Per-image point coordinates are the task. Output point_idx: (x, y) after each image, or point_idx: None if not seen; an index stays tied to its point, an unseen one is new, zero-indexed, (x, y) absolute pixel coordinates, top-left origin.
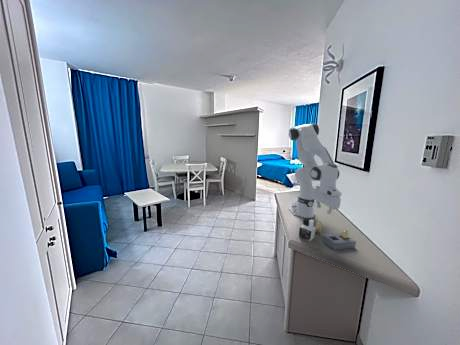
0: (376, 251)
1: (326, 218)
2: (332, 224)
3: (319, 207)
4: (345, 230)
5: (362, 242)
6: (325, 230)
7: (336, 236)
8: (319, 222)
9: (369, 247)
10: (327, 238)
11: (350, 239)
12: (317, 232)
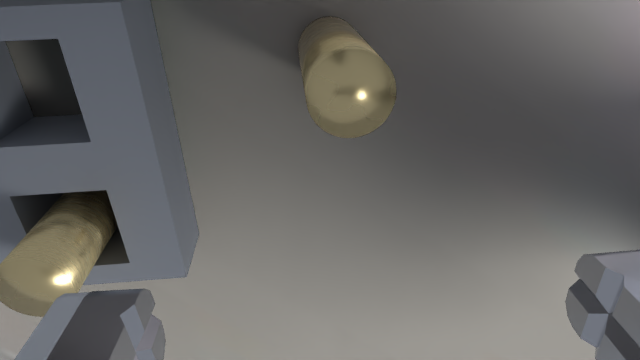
0: (9, 355)
1: None
2: (484, 320)
3: (583, 296)
4: None
5: None
6: (390, 191)
7: (86, 161)
8: (340, 95)
9: None
10: (22, 5)
11: None
12: (308, 33)
